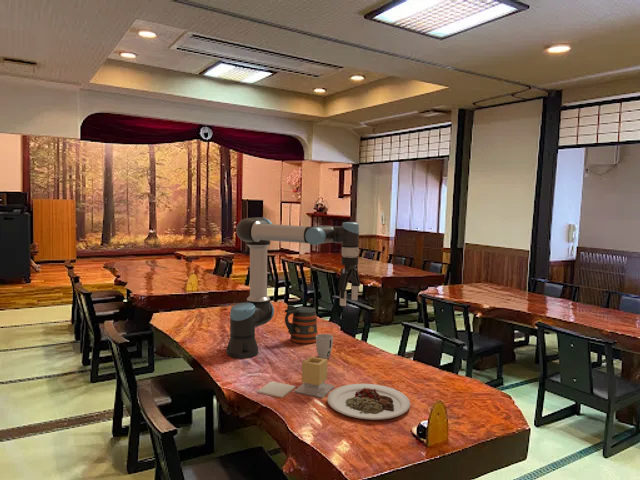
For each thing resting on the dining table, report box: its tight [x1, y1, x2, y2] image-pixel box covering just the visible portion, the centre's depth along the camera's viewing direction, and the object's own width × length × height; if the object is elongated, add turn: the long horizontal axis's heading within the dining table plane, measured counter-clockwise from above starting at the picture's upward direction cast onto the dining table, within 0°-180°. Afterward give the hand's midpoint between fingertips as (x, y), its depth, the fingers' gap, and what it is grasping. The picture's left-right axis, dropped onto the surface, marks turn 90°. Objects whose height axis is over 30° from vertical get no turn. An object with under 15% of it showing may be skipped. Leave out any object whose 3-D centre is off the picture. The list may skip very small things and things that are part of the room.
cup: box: [315, 333, 334, 359], centre depth 222 cm, size 8×8×10 cm
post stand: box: [293, 362, 335, 399], centre depth 184 cm, size 12×12×11 cm
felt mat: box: [256, 380, 297, 399], centre depth 183 cm, size 11×11×1 cm
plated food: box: [326, 383, 411, 420], centre depth 172 cm, size 30×30×3 cm
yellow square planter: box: [301, 356, 329, 386], centre depth 184 cm, size 7×7×8 cm
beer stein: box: [284, 304, 319, 345], centre depth 247 cm, size 19×15×20 cm
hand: (348, 302), depth 215 cm, fingers open, 13 cm apart
